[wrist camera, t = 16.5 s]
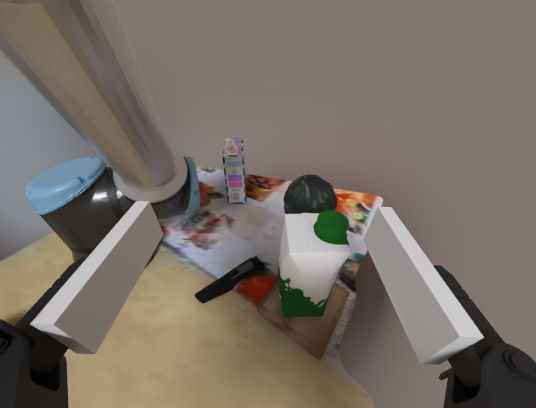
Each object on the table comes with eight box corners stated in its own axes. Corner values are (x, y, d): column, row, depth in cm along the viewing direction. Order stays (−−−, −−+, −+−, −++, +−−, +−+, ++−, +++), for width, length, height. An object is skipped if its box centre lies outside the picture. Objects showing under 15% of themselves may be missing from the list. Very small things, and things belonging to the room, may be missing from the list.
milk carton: (329, 322, 36) (363, 245, 24) (277, 322, 36) (285, 245, 24) (318, 277, 43) (341, 199, 31) (275, 277, 43) (280, 199, 31)
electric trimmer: (194, 296, 42) (191, 287, 40) (257, 258, 50) (256, 250, 48) (202, 311, 40) (198, 303, 38) (266, 269, 47) (266, 261, 45)
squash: (342, 190, 63) (315, 154, 57) (349, 226, 52) (315, 184, 46) (303, 210, 70) (275, 179, 64) (302, 244, 59) (268, 211, 53)
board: (257, 311, 40) (256, 305, 38) (292, 265, 48) (293, 259, 47) (319, 360, 34) (322, 355, 32) (347, 297, 42) (350, 292, 41)
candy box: (246, 203, 66) (243, 155, 56) (227, 204, 66) (221, 156, 56) (246, 180, 77) (243, 137, 67) (230, 181, 76) (224, 137, 66)
